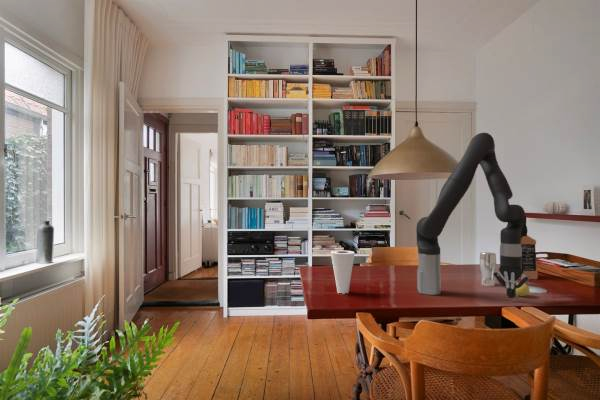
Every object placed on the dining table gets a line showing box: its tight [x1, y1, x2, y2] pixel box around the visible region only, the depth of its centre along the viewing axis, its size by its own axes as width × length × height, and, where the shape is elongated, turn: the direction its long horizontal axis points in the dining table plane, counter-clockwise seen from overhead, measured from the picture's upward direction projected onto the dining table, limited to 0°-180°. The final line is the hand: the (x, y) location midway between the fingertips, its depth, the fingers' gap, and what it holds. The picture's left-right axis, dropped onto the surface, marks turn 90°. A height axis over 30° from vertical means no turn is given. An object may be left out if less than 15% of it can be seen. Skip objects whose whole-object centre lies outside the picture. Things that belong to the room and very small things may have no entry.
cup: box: [330, 249, 355, 295], centre depth 153 cm, size 11×11×18 cm
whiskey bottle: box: [518, 215, 539, 280], centre depth 180 cm, size 10×10×32 cm
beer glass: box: [479, 251, 497, 287], centre depth 165 cm, size 7×7×15 cm
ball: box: [516, 282, 530, 297], centre depth 145 cm, size 6×6×6 cm
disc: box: [527, 285, 548, 294], centre depth 155 cm, size 12×12×1 cm
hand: (511, 297), depth 138 cm, fingers closed
